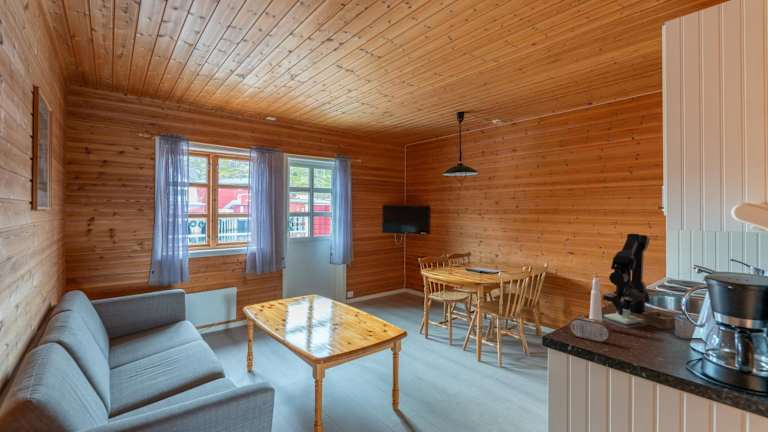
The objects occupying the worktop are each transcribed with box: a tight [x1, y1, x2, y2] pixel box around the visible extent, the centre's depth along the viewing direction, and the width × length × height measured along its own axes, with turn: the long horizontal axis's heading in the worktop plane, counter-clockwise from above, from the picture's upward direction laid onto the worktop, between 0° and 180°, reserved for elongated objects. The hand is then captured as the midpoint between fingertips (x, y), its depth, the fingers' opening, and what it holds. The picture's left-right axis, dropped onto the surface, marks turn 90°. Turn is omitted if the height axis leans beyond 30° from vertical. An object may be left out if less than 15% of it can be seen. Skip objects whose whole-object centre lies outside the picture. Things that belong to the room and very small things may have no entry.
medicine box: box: [674, 314, 700, 340], centre depth 143 cm, size 8×4×9 cm, turn 84°
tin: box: [568, 316, 613, 343], centre depth 141 cm, size 15×3×8 cm, turn 47°
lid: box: [603, 309, 644, 325], centre depth 161 cm, size 11×11×6 cm
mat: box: [602, 317, 648, 329], centre depth 161 cm, size 13×13×1 cm
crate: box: [641, 310, 675, 331], centre depth 158 cm, size 10×10×4 cm
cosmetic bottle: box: [588, 277, 603, 321], centre depth 155 cm, size 6×6×22 cm
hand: (623, 314), depth 161 cm, fingers open, 3 cm apart
